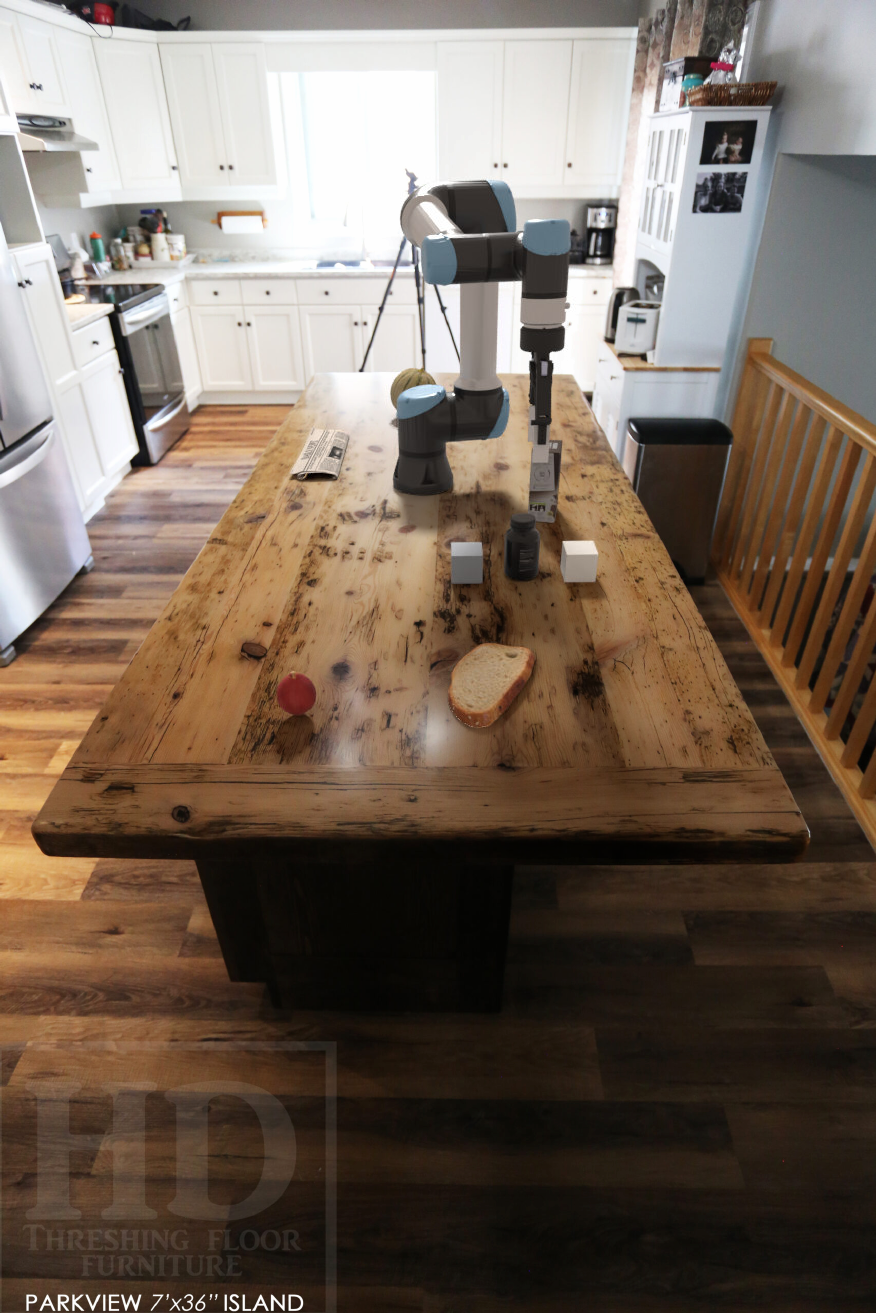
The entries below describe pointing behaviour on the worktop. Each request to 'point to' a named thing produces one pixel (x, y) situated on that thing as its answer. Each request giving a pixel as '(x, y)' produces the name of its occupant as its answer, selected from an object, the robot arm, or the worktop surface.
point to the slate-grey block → (466, 562)
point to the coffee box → (545, 484)
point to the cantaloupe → (409, 382)
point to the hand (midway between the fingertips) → (537, 451)
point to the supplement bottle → (522, 548)
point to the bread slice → (488, 682)
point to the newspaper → (322, 453)
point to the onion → (296, 694)
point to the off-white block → (579, 561)
